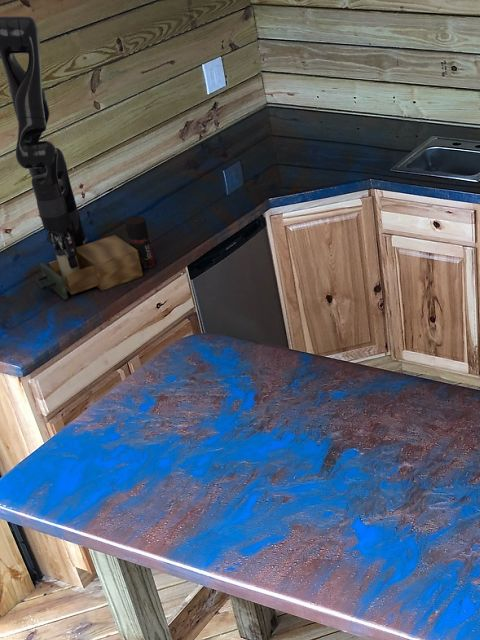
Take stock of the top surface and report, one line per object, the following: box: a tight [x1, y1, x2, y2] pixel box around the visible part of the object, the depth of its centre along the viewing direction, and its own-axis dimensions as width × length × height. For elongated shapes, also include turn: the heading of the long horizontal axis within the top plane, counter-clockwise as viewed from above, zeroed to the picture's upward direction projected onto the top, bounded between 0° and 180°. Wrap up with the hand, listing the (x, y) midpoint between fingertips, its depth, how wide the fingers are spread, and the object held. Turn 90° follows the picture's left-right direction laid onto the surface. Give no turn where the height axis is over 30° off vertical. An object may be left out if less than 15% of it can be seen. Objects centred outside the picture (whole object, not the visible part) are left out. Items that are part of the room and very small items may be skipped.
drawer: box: [31, 255, 99, 300], centre depth 273 cm, size 17×14×7 cm
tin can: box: [54, 249, 80, 286], centre depth 273 cm, size 6×6×10 cm
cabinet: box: [76, 234, 144, 291], centre depth 281 cm, size 14×15×9 cm
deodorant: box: [124, 216, 156, 270], centre depth 284 cm, size 6×6×15 cm
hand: (68, 263), depth 272 cm, fingers open, 7 cm apart
